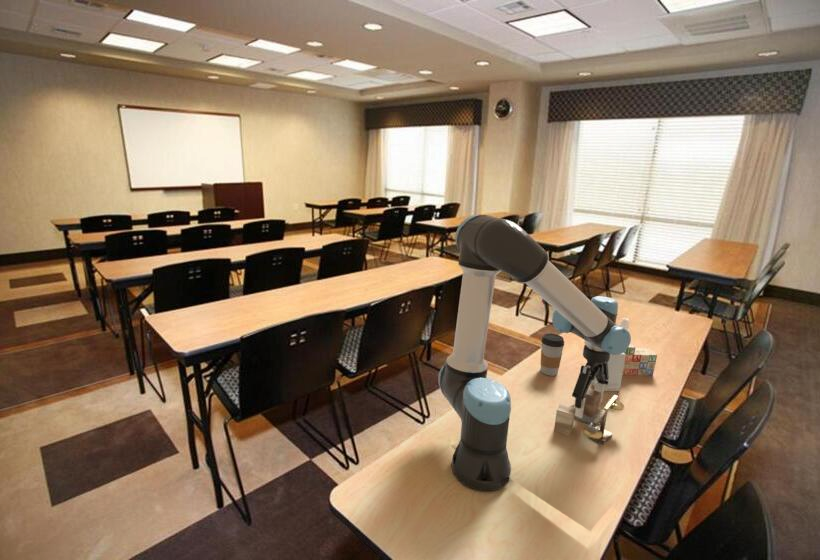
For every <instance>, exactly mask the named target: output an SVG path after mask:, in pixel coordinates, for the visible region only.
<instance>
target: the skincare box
mask: <svg viewBox="0 0 820 560" xmlns="http://www.w3.org/2000/svg"><path fill="white" fill-rule="evenodd" d="M625 356H626V354H625V353H621V354H619V355H612V354H610V359H609V361H608V375H609V379H608V380H606V381H608V385H606V384H604V385H605V386H604V392H620V391H621V387H622V386H621V385H622V379H623V375H622V374H623V368H624V362H625ZM595 382H598V381H597V379H596V377H595V379H594V380H592V381H591V385H593V386H594V387H593V388H595Z"/></svg>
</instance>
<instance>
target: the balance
mask: <svg viewBox="0 0 820 560" xmlns="http://www.w3.org/2000/svg"><path fill="white" fill-rule="evenodd" d="M618 398H619V396H618V395H616V394H614V395H613V396H612V397H611V398H610V399H607V400H605V403H604V404H605V406H604V407H603V408H602V409H601V412H600V413H599V414H598V416H597V417H596V418H595V419H594V421H593V422H592V423H591V424H588V425H587V426H584V427H583V429H582V433H583V435H584V436H586V437H588V438H589V439H592V440H593V441H595V442H596V443H600V445H605V443H606V442H607V441H609V440H610V439H611V438H612V437H613V432H611V431H608V430H606V429H605V428H606V422H607V417H608V411H609V410H610V409H611V410H613V411H623V410H624V409H625V405H624V404H623V403H622V402H621V401H618V400H619V399H618ZM600 420H601V423H600V426H599V424H598V423H599V421H600Z"/></svg>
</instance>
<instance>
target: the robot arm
mask: <svg viewBox="0 0 820 560" xmlns="http://www.w3.org/2000/svg"><path fill="white" fill-rule="evenodd" d="M456 229H457V230H456V232H455V237H454V241H455V245H456V248H457V249H458V251H459V255H458V262H457V263H458V264H457V266H459V268H460V269H461V270H462V279H461V285H460V286H461V287H460V294H459V302H458V310H457V311H458V312H457V318H456V326H455V332H454V333H455V334H454V342H453V348H452V349H453V351H452V353H451V354H449V355H448V356H447V357H446V361H445V364H444V365H442V366H441V368H440V370H439V373H438V381H437V383H438V385H439V388H440V391H441V393H442V395H443V397H444V398H445V399H446V400H447V402H448V403H449V404H450V406H451V408H453V410H454V411H455V412H456V414H457V415H458V417H459V418H460V420H461V421H460V422H461V425H460V426H461V428H460V440H459V441H458V443H457V445H456V447H455V450H454V452H453V455H452V460H451V469H452V473H453V475H454V476H455V478H456V479H457V480H458V481H459V482H460V483H462V484H463V485H465V486H467V487H469V488H471V489H474V490H478V491H487V492H488V491H496V490H499V489H501V488H503V487H504V486H506V485H507V484H508V483H509V481H510V477H511V471H512V466H511V465H512V464H511V462H510V459H509V454H508V449H507V444H508V443H507V442H508V434H509V427H510V426H509V424H510V417H511V416H510V415H511V411H512V406H511V405H512V404H511V403H512V400H511V399H512V398H511V394H510V392H509V390H508V389H507V388H506V387H505V386H504V385H503V384H502V383H500V382H499V381H497V380H496V381H494V380H493V379H491V378H489V377H488V378H487V376H488V369H489V364H488V362H487V361H486V360H485V350H486V344H487V337H488V336H487V335H488V329H489V323H490V317H491V312H492V311H491V310H492V302H493V297H494V290H495V282H496V278H497V276H498V274H500V273H501V272H504V273H506V274H507V275H509V277H510V278H513V279H514V280H515V281H516V282H517V283H519V284H526V285H527V286H528V287H529V288H530V289H531V290H532V291H534V292H535V293H536V294H537V295H538V296H539V297H540V298H542V299H543V300H544V301H545V302H547V304H549V305H550V306H551V307H552V309H554V311H553V313H552V317H551V320H552V325H553V328H554V329H555V331H557V333H561V334H563V333H564V334H568V333H572V334H573V335H576V336H577V337H579V338H581V339H582V340H584V342H583V343H584V346H583V349H582V350H583V351H582V356H583V358H584V360H586V363H585V365H580V372H579V374H578V377H577V380H576V383H575V386H574V388H573V392H572V393H571V397H573V398H575V400H574V404H573V405H574V407H575V408H576V412H575V416H577V417H579V418H582V417H583V411H584V404H585V398H584V397H585V395H586V392H587V390H588V388H590V386H591V385H592V383H591V381H592V380H594V379H595V377H596V379H597V381H598V382H595V387H593V388H594V389H593V390H595V391H598V392H600V393H601V397H600V403H599V404H601V403H602V402H603V397H604V392H605V391H604V386H605V385H604V384H606V385H608V381H606V380H608V379H609V375H608V361H609V359H610V354H612V355H619V354H621V353H623V352H624V351H626V349H627V348H628V347H629V345H630V343H631V340H632V336H631V334H630V332H629V329H628V330H626V329H625V328H623V327H622V326H620V325H621V324H616V321H617V317H618V310H619V309H618V308H619V302H618V301H617V300H616V299H614V298H612V297H607V296H602V295H600V296H599V295H598V296H596V295H595V296H594V297H592V298H591V299H590V298H589V297H587V296H586V294H585V293H583V292H582V291H581V290H580V289H579V288H578V286H576V285H575V284H574V283H573V282H572V281H571V280H570V279H569V278H567V276H565V275H564V274H563V273H562V272H561V271H560V270H559V268H557V267H556V266H555V265H554V264H553V263H552V262H551V261H550V260H549V259H550V257H549V253H548V252H547V251H546V250H545V249H544V248H543V247H542V246H541V245H540V244H539V243H538V242H537V241H536V240H535V239H534V238H533V237H532V236H531V235H530V234H529V233H527V231H526V230H524V228H522V227H521V226H519V225H518V224H517V223H515V222H514V221H512V220H509V219H505V218H500V217H496V216H492V215H487V214H473V215H471V216H470V215H469V216H468V217H467V218H465V219H464V220H462V222H460V224H459V226H458V227H457V228H456Z"/></svg>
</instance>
